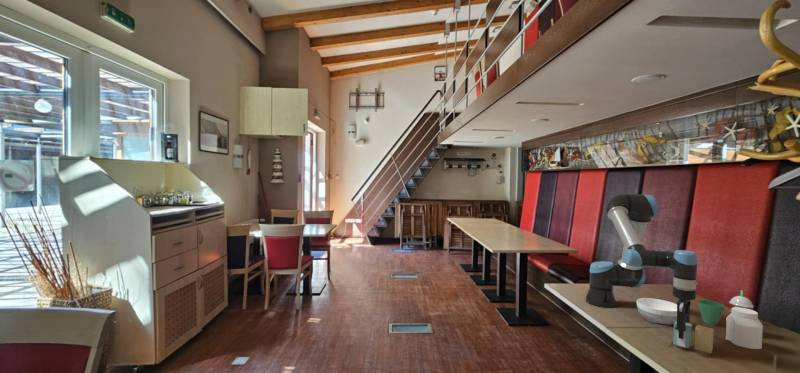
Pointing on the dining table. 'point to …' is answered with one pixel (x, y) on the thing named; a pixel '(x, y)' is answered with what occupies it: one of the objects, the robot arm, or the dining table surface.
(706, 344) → the pale yellow block
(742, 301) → the smoothie
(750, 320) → the jar
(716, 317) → the mug
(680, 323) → the robot arm
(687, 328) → the teal rectangular block
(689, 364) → the dining table surface
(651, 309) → the bowl
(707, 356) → the board
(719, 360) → the dining table surface
